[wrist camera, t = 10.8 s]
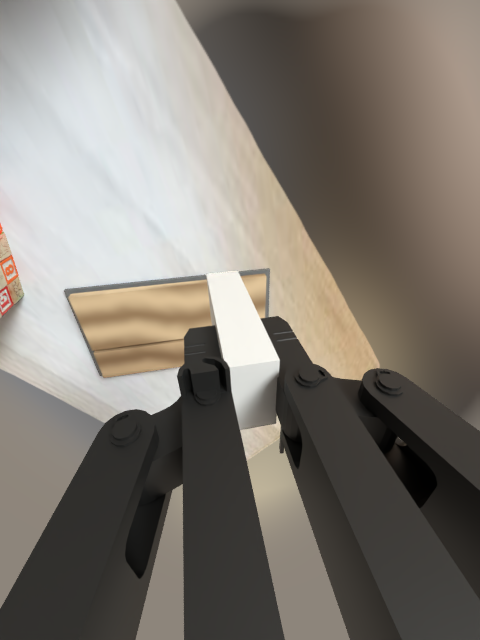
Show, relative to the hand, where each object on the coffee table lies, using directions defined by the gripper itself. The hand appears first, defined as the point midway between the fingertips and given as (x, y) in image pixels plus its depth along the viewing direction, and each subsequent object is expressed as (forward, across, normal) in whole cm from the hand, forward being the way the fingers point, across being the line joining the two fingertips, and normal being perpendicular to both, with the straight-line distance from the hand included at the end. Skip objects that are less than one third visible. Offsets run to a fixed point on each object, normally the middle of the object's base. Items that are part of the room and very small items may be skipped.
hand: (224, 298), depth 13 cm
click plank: (+28, -5, -16) cm, 32 cm away
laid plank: (+28, -5, -24) cm, 38 cm away
